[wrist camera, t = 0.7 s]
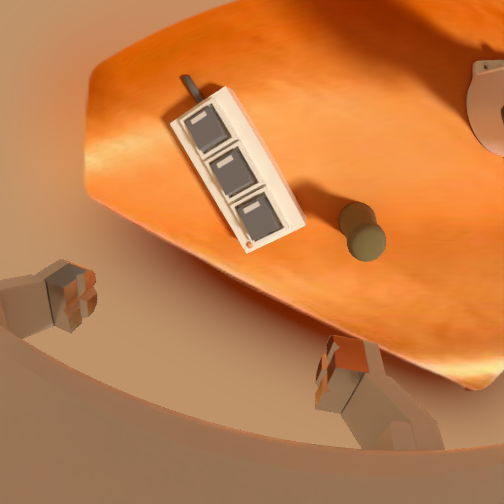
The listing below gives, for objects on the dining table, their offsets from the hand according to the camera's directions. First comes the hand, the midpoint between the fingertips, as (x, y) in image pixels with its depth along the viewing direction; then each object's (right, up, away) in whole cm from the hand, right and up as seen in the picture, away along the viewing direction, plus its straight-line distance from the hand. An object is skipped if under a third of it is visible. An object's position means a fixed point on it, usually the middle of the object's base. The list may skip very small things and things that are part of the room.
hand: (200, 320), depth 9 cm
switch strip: (-1, +17, +36) cm, 40 cm away
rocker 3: (+3, +7, +33) cm, 34 cm away
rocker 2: (-1, +13, +31) cm, 34 cm away
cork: (+18, +7, +36) cm, 41 cm away
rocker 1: (-5, +19, +30) cm, 35 cm away
